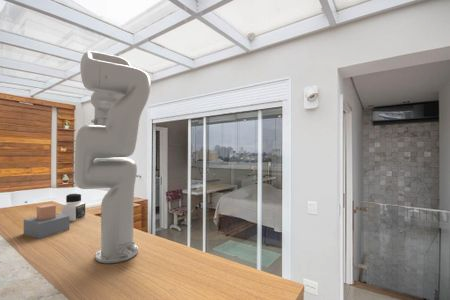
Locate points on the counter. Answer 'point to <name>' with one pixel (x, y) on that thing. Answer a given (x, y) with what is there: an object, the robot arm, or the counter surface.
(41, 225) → the grey block
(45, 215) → the terracotta cube
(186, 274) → the counter surface
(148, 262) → the counter surface
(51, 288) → the counter surface
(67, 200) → the medicine bottle
